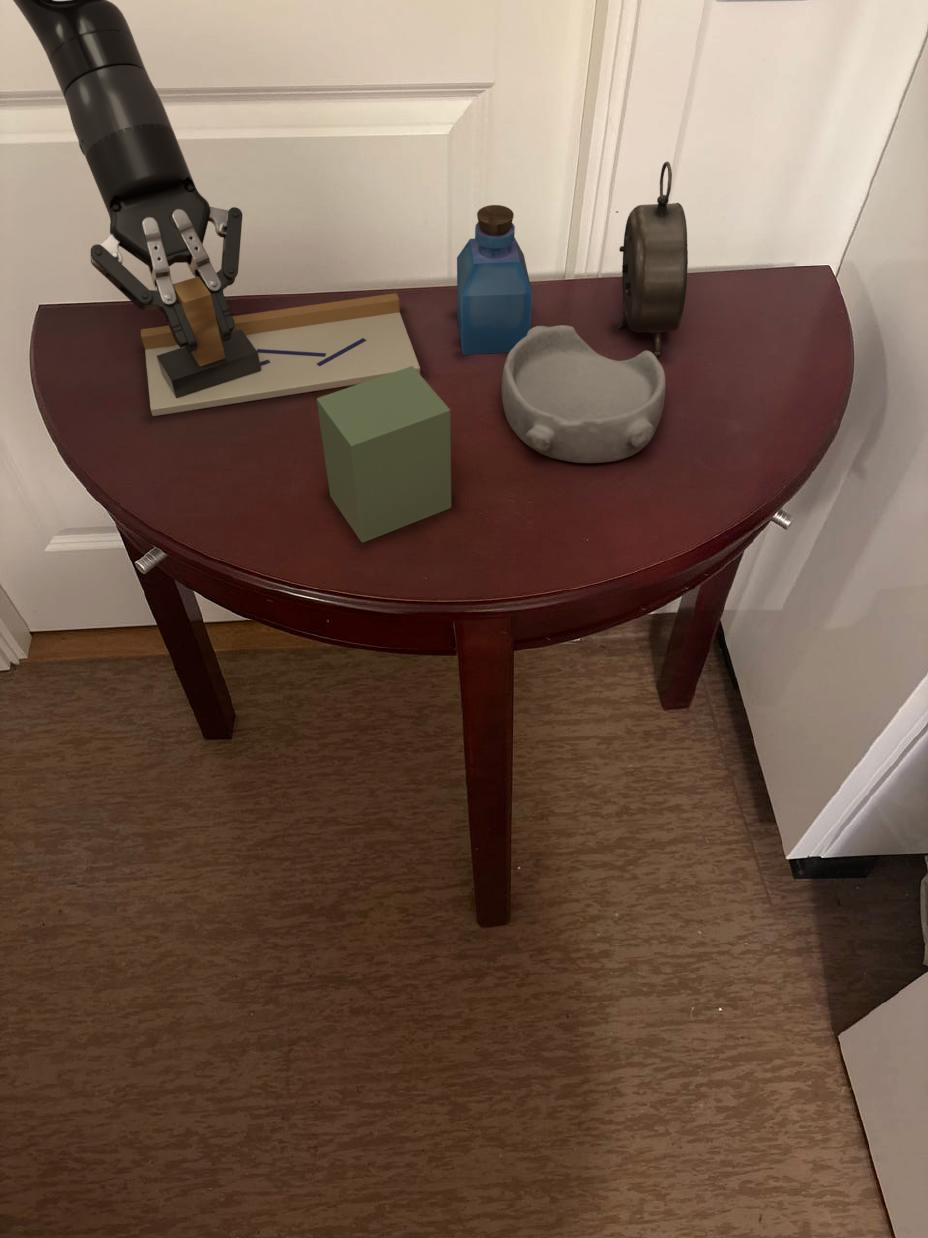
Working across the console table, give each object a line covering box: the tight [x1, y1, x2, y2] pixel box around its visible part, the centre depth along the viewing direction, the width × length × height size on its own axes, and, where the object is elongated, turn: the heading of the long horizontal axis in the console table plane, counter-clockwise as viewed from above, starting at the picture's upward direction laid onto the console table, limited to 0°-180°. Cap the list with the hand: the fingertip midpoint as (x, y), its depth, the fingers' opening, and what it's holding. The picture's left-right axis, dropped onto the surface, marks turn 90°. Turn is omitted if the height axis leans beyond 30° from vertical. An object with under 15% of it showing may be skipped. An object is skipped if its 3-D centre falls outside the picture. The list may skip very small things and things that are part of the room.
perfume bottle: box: [456, 204, 533, 356], centre depth 91 cm, size 6×6×12 cm
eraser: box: [157, 276, 261, 398], centre depth 87 cm, size 8×4×8 cm, turn 119°
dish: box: [501, 324, 667, 464], centre depth 86 cm, size 14×14×5 cm
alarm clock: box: [617, 161, 689, 358], centre depth 90 cm, size 11×5×16 cm, turn 179°
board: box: [140, 292, 421, 417], centre depth 92 cm, size 24×10×2 cm, turn 104°
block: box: [316, 366, 452, 544], centre depth 78 cm, size 8×6×10 cm
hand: (210, 343), depth 86 cm, fingers closed on eraser, 2 cm apart
